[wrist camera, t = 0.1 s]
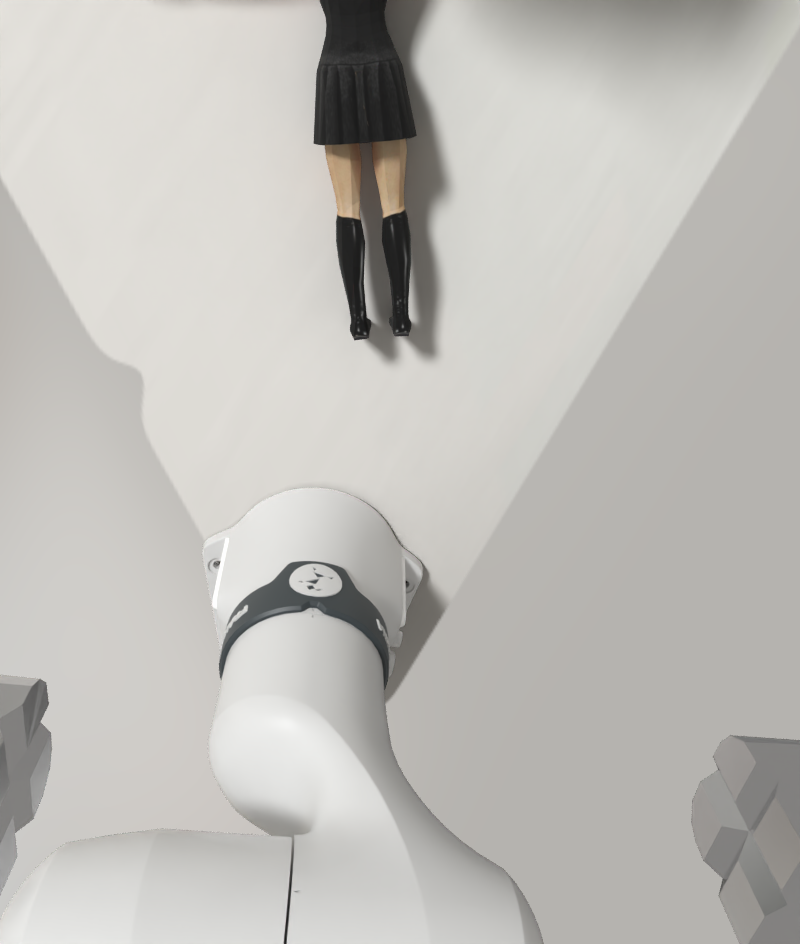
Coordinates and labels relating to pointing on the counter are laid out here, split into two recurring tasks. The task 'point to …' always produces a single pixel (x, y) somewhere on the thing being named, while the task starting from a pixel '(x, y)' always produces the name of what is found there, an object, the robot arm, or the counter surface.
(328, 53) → the figurine
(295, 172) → the counter surface
